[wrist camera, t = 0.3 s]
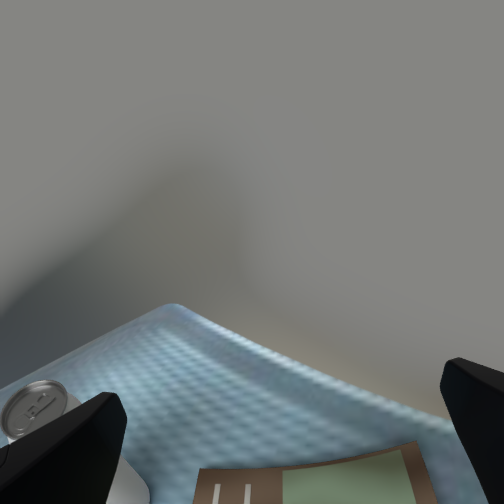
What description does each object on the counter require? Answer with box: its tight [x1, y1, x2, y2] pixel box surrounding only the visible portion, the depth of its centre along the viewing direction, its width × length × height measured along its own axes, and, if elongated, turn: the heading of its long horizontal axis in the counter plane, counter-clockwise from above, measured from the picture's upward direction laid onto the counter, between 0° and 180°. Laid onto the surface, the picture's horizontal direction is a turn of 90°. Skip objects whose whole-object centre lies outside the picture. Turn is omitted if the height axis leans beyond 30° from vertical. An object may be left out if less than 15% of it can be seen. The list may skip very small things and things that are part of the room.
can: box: [0, 380, 150, 504], centre depth 14 cm, size 6×6×12 cm
